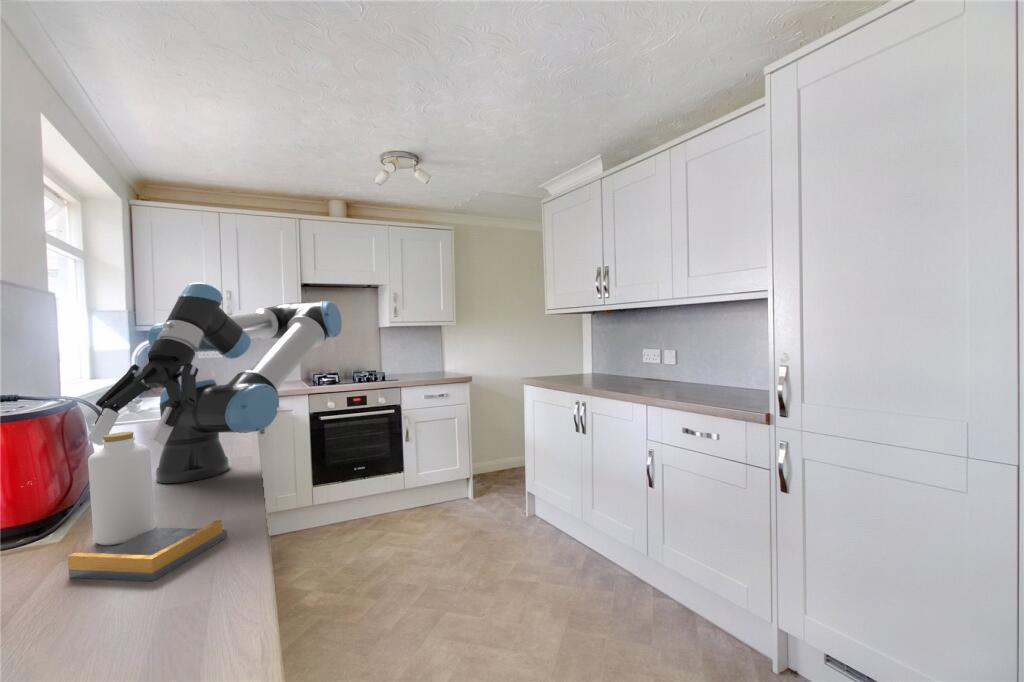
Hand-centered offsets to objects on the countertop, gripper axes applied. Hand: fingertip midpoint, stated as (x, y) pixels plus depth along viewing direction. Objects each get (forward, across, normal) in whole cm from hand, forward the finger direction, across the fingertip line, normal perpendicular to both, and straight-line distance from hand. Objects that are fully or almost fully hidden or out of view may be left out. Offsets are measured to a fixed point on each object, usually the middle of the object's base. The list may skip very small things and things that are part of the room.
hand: (125, 442), depth 87 cm
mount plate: (+19, +17, 0) cm, 25 cm away
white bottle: (+16, +5, +5) cm, 17 cm away
